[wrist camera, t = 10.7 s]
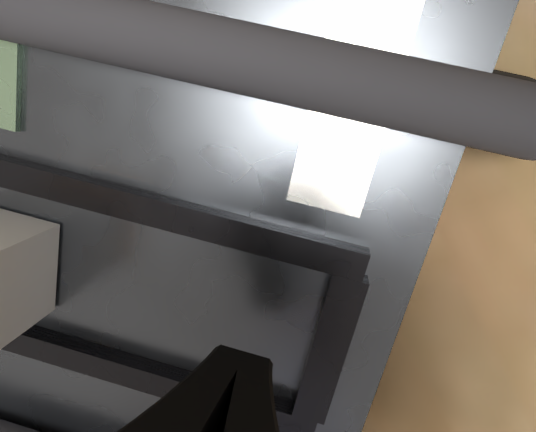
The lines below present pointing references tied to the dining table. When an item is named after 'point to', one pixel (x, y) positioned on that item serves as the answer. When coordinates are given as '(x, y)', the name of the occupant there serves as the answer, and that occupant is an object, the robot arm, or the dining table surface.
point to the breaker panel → (223, 221)
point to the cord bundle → (287, 69)
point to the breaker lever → (26, 272)
